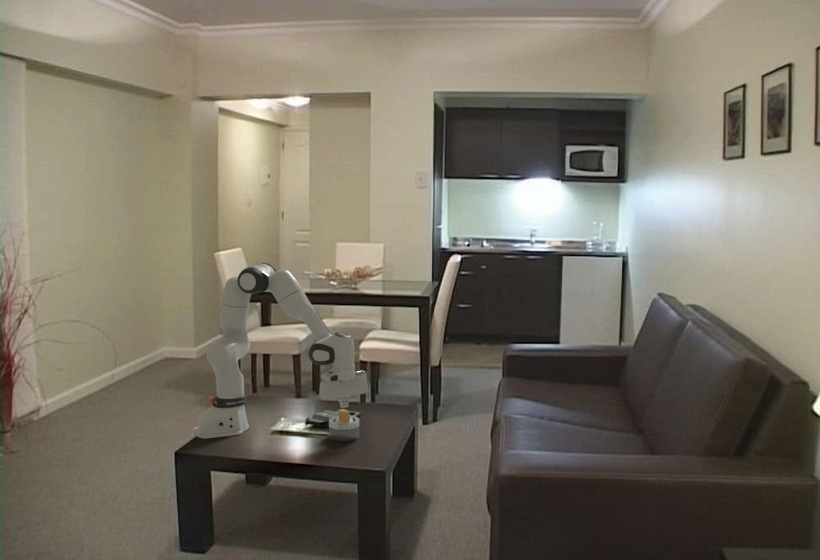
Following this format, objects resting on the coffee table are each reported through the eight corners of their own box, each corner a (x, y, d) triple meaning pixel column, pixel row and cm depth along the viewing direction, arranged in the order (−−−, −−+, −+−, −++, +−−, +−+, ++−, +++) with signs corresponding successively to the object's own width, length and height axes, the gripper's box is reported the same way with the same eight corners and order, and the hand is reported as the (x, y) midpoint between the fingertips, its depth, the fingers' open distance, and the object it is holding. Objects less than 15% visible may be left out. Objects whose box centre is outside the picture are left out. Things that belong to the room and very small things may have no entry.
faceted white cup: (337, 444, 294) (337, 426, 293) (324, 435, 304) (324, 418, 303) (364, 438, 300) (364, 421, 299) (350, 430, 310) (350, 413, 309)
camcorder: (352, 432, 309) (352, 419, 308) (304, 428, 312) (304, 416, 312) (361, 420, 325) (361, 408, 324) (316, 417, 328) (316, 405, 328)
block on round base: (340, 429, 296) (340, 414, 296) (332, 424, 303) (331, 410, 302) (356, 425, 300) (356, 411, 300) (348, 421, 306) (347, 407, 306)
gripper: (362, 368, 307) (363, 401, 309) (317, 375, 296) (318, 409, 298) (370, 371, 302) (370, 404, 303) (324, 378, 291) (325, 413, 293)
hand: (344, 407), depth 300 cm, fingers closed
